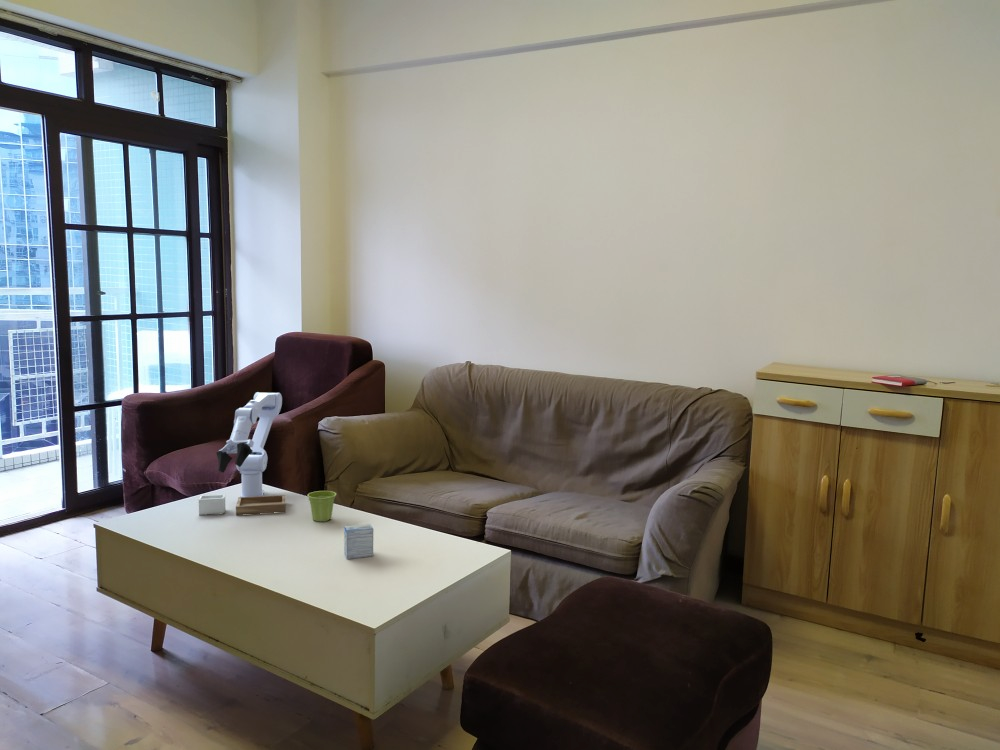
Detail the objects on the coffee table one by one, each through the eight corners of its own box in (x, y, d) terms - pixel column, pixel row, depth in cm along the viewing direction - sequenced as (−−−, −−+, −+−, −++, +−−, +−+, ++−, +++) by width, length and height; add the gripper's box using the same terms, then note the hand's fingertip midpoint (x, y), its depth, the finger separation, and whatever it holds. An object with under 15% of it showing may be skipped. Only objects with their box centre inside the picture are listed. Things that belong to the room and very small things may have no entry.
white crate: (200, 511, 254) (200, 495, 253) (225, 509, 256) (225, 494, 256) (199, 515, 249) (198, 499, 249) (224, 513, 251) (223, 498, 251)
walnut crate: (238, 505, 262) (238, 497, 261) (285, 502, 266) (285, 494, 266) (236, 515, 250) (235, 506, 250) (285, 512, 254) (285, 504, 254)
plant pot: (306, 516, 251) (306, 491, 250) (335, 514, 254) (335, 489, 253) (308, 524, 242) (308, 498, 241) (337, 522, 245) (337, 497, 244)
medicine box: (370, 551, 219) (370, 523, 218) (373, 556, 215) (373, 527, 214) (343, 554, 216) (343, 525, 215) (346, 559, 212) (346, 530, 211)
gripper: (216, 435, 259) (205, 467, 250) (247, 424, 254) (237, 456, 245) (230, 446, 264) (220, 478, 255) (261, 435, 259) (251, 467, 250)
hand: (229, 468), depth 250 cm, fingers open, 7 cm apart
